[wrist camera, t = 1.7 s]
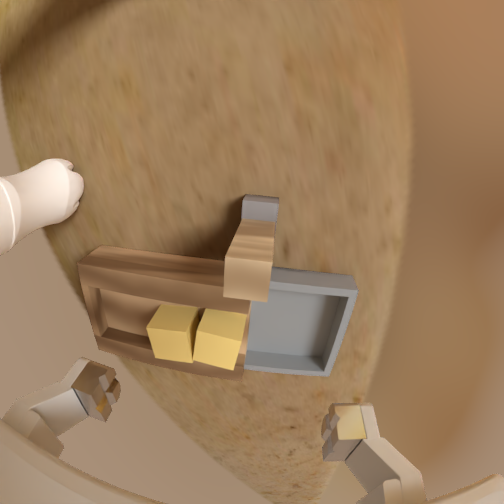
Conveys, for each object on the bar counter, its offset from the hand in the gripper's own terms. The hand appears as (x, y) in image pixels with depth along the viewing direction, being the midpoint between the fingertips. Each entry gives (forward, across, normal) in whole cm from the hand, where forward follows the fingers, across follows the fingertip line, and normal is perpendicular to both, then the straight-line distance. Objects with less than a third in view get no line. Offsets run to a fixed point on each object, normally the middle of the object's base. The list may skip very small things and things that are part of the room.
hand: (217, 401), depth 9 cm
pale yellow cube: (+14, +2, +10) cm, 18 cm away
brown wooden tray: (+20, +9, +10) cm, 24 cm away
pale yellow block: (+14, +7, +10) cm, 19 cm away
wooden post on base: (+19, 0, 0) cm, 19 cm away
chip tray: (+20, -5, +10) cm, 22 cm away
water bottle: (+20, +22, -3) cm, 30 cm away
